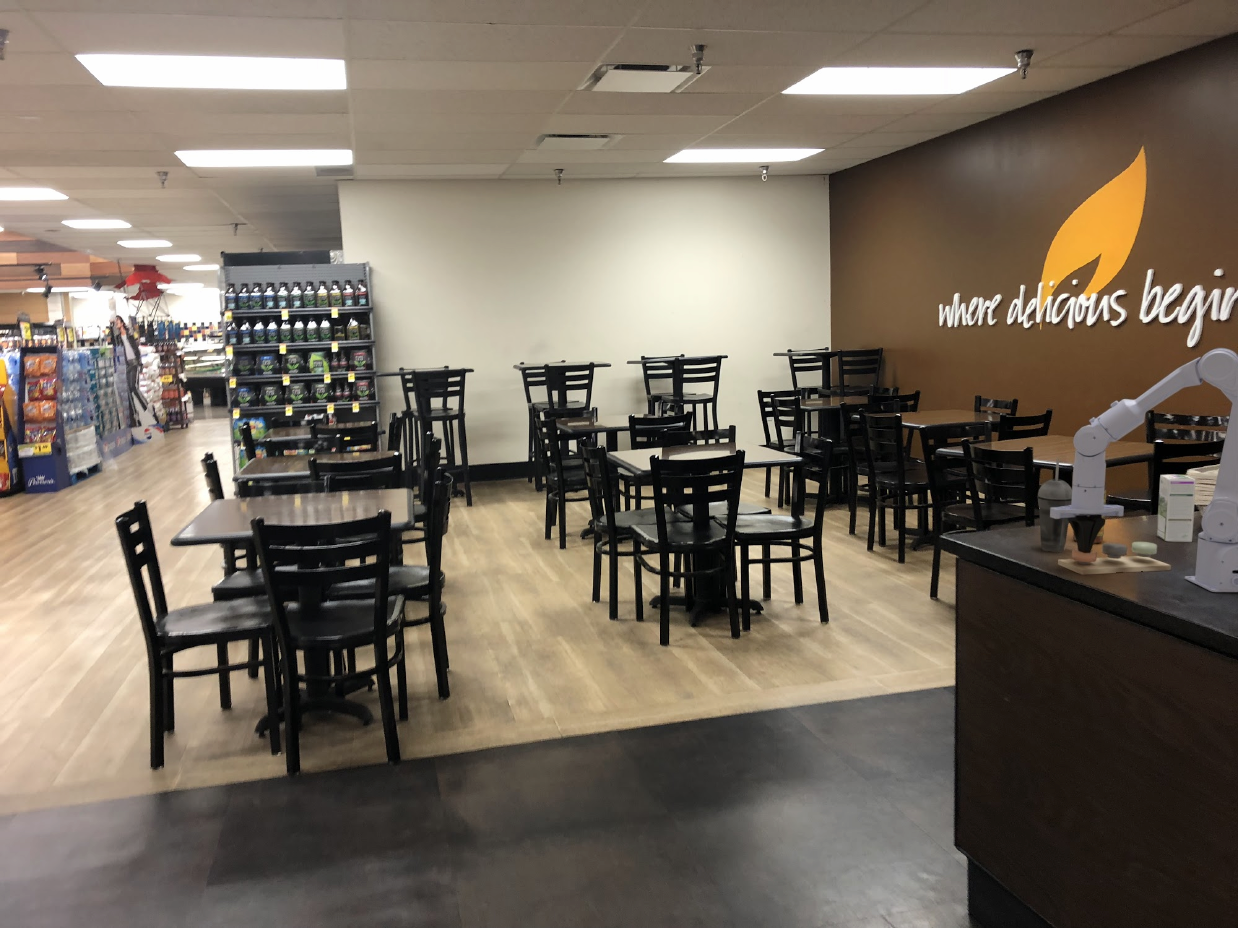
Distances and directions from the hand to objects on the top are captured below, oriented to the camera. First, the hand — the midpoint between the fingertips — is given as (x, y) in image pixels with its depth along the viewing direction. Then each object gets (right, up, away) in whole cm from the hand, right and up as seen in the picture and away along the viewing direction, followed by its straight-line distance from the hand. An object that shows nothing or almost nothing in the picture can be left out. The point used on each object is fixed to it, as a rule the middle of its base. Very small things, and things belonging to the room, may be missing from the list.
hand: (1084, 552), depth 187 cm
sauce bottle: (+13, 0, +24) cm, 27 cm away
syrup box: (+33, 0, +25) cm, 41 cm away
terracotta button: (0, -2, 0) cm, 2 cm away
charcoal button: (+6, -1, +1) cm, 7 cm away
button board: (+6, -3, +1) cm, 7 cm away
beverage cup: (+1, -1, +16) cm, 17 cm away
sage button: (+13, -1, +2) cm, 13 cm away
